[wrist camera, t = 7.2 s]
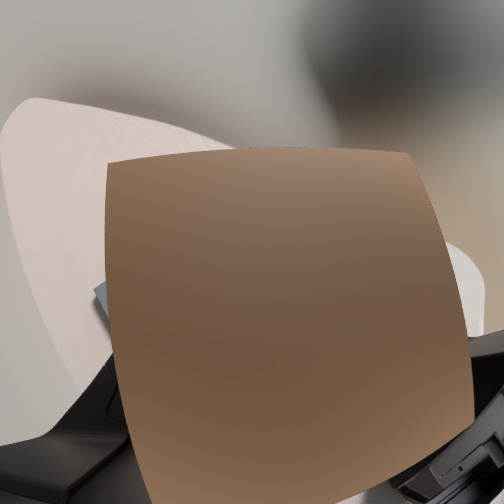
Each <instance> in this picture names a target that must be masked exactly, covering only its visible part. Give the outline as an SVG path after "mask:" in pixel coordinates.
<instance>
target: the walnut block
mask: <svg viewBox="0 0 504 504" xmlns="http://www.w3.org/2000/svg"><path fill="white" fill-rule="evenodd" d="M105 274H106V292H107V305H108V316H109V325H110V334H111V342H112V349H113V356H114V362H115V369H116V374H117V380H118V385H119V390H120V395H121V400H122V405H123V409H124V414H125V418H126V422H127V426H128V430H129V434H130V437H131V441H132V445H133V448H134V452H135V455H136V458H137V462H138V465H139V468H140V471H141V474H142V477H143V480H144V483H145V486H146V488H147V491H148V494H149V496H150V499H151V502H152V504H335V503H337V502H340V501H342V500H345V499H347V498H350V497H352V496H354V495H357V494H359V493H361V492H363V491H365V490H368V489H370V488H372V487H374V486H376V485H378V484H380V483H382V482H384V481H386V480H388V479H390V478H391V477H393V476H395V475H397V474H399V473H400V472H402V471H404V470H406V469H407V468H409V467H411V466H412V465H414V464H416V463H417V462H419V461H421V460H422V459H424V458H425V457H427V456H428V455H430V454H431V453H433V452H434V451H436V450H437V449H439V448H440V447H442V446H443V445H444V444H446V443H447V442H449V441H450V440H451V439H453V438H454V437H455V436H457V435H458V434H459V433H461V432H462V431H463V430H464V429H466V428H467V427H468V426H469V425H471V424H472V423H473V422H474V390H473V377H472V366H471V357H470V350H469V342H468V336H467V330H466V324H465V319H464V313H463V309H462V304H461V299H460V295H459V291H458V286H457V282H456V278H455V275H454V271H453V267H452V264H451V260H450V257H449V253H448V250H447V247H446V244H445V241H444V238H443V235H442V232H441V229H440V226H439V223H438V220H437V218H436V215H435V212H434V210H433V207H432V204H431V202H430V199H429V197H428V194H427V192H426V190H425V187H424V185H423V182H422V180H421V178H420V176H419V174H418V171H417V169H416V167H415V165H414V163H413V161H412V158H411V156H410V154H409V153H401V152H390V151H378V150H364V149H345V148H344V149H343V148H310V147H309V148H307V147H304V148H302V147H295V148H294V147H286V148H284V147H283V148H248V149H228V150H213V151H201V152H189V153H179V154H170V155H162V156H154V157H146V158H139V159H132V160H126V161H119V162H113V163H108V169H107V182H106V200H105Z"/></svg>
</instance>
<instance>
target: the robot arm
mask: <svg viewBox="0 0 504 504" xmlns="http://www.w3.org/2000/svg"><path fill="white" fill-rule="evenodd" d="M468 342H469V350H470V357H471V366H472V377H473V390H474V422H473V423H472V424H471V425H469V426H468V427H467V428H466V429H464V430H463V431H462V432H461V433H459V434H458V435H457V436H455V437H454V438H453V439H451V440H450V441H449V442H447V443H446V444H444V445H443V446H442V447H440V448H439V449H437V450H436V451H434V452H433V453H431V454H430V455H428V456H427V457H425V458H424V459H422V460H421V461H419V462H417V463H416V464H414V465H412V466H411V467H409V468H407V469H406V470H404V471H402V472H400V473H399V474H397V475H395V476H393V477H391V478H390V479H388V480H389V482H390V484H391V486H392V488H393V489H394V490H396V489H398V488H400V487H402V486H403V485H405V484H407V483H408V482H410V481H412V480H413V479H415V478H417V477H418V476H420V475H421V474H423V473H424V472H426V471H427V470H429V469H430V470H431V472H432V473H433V475H434V477H435V478H436V480H437V481H438V483H439V484H441V486H442V488H443V490H442V491H440V492H439V493H437V494H436V495H435V496H433V497H432V498H430V499H429V500H427V501H426V502H425V503H423V504H504V330H501V331H497V332H494V333H491V334H487V335H483V336H479V337H468ZM0 504H152V502H151V499H150V496H149V494H148V491H147V488H146V486H145V483H144V480H143V477H142V474H141V471H140V468H139V465H138V462H137V458H136V455H135V452H134V448H133V445H132V441H131V437H130V434H129V430H128V426H127V422H126V418H125V414H124V409H123V405H122V400H121V395H120V390H119V385H118V380H117V374H116V369H115V362H114V356H113V353H112V355H111V356H110V357H109V359H108V360H107V362H106V363H105V365H104V366H103V367H102V368H101V370H100V371H99V373H98V374H97V375H96V377H95V378H94V379H93V381H92V382H91V384H90V385H89V386H88V387H87V389H86V390H85V391H84V392H83V393H82V395H81V396H80V397H79V398H78V399H77V401H76V402H75V403H74V404H73V405H72V406H71V407H70V409H69V410H68V411H67V412H66V413H65V414H64V416H63V417H62V418H61V419H60V420H59V422H58V423H57V424H56V425H55V426H54V427H53V428H52V429H51V430H50V431H49V432H47V433H46V434H44V435H42V436H40V437H37V438H34V439H30V440H26V441H21V442H17V443H13V444H9V445H4V446H0Z"/></svg>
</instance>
